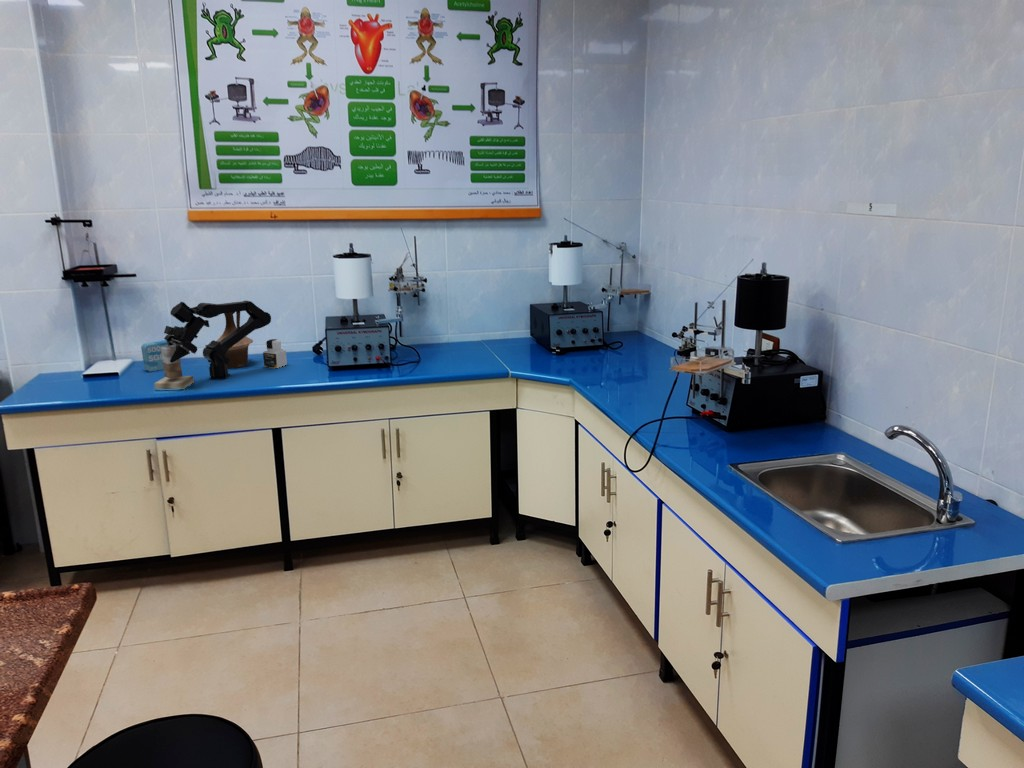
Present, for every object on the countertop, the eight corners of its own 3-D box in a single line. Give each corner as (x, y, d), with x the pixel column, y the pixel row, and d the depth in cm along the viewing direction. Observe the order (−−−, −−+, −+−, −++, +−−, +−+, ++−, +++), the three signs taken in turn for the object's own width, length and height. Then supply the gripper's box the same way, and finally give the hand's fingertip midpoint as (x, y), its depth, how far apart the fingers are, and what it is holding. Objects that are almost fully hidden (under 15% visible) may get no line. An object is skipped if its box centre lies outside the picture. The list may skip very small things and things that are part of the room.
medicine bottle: (263, 367, 339) (261, 341, 335) (274, 363, 345) (271, 337, 342) (277, 369, 336) (274, 342, 333) (287, 365, 343) (285, 338, 339)
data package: (148, 372, 332) (144, 345, 329) (144, 370, 335) (140, 344, 332) (176, 367, 340) (172, 341, 337) (172, 365, 344) (168, 339, 340)
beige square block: (194, 382, 316) (193, 375, 315) (182, 390, 305) (181, 383, 304) (167, 383, 316) (166, 375, 315) (155, 390, 305) (154, 383, 305)
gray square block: (177, 373, 313) (173, 345, 309) (182, 376, 309) (178, 347, 306) (164, 376, 309) (160, 347, 306) (170, 378, 306) (165, 349, 303)
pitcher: (228, 359, 354) (221, 299, 346) (262, 360, 351) (256, 300, 343) (207, 369, 337) (200, 306, 329) (244, 370, 334) (237, 307, 327)
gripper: (165, 315, 312) (142, 346, 307) (185, 321, 299) (161, 353, 295) (187, 330, 319) (164, 361, 315) (207, 337, 307) (184, 369, 302)
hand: (168, 361), depth 307 cm, fingers closed on gray square block, 5 cm apart
